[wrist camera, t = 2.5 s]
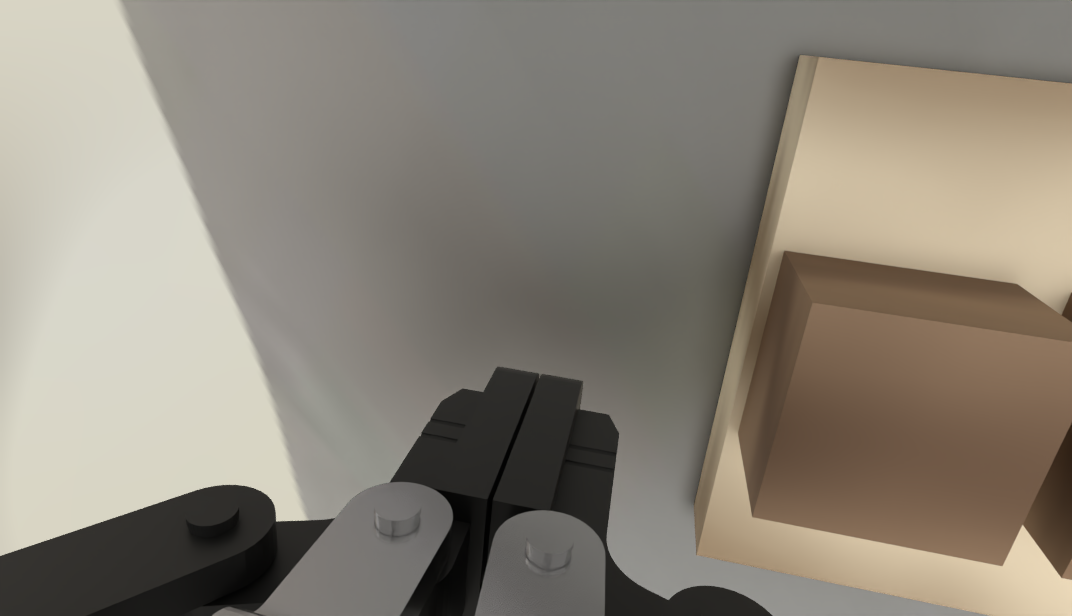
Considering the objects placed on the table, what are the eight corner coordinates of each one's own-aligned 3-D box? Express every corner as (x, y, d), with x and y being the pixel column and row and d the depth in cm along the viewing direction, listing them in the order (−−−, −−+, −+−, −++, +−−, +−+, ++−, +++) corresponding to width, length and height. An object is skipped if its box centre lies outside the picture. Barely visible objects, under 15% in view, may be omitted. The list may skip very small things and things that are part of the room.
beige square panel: (799, 54, 14) (819, 56, 12) (1577, 136, 12) (1734, 153, 11) (693, 505, 19) (696, 555, 17) (1247, 613, 17) (1315, 682, 15)
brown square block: (784, 250, 14) (812, 301, 11) (1017, 283, 13) (1107, 347, 10) (737, 433, 16) (752, 517, 13) (941, 469, 15) (1002, 566, 12)
